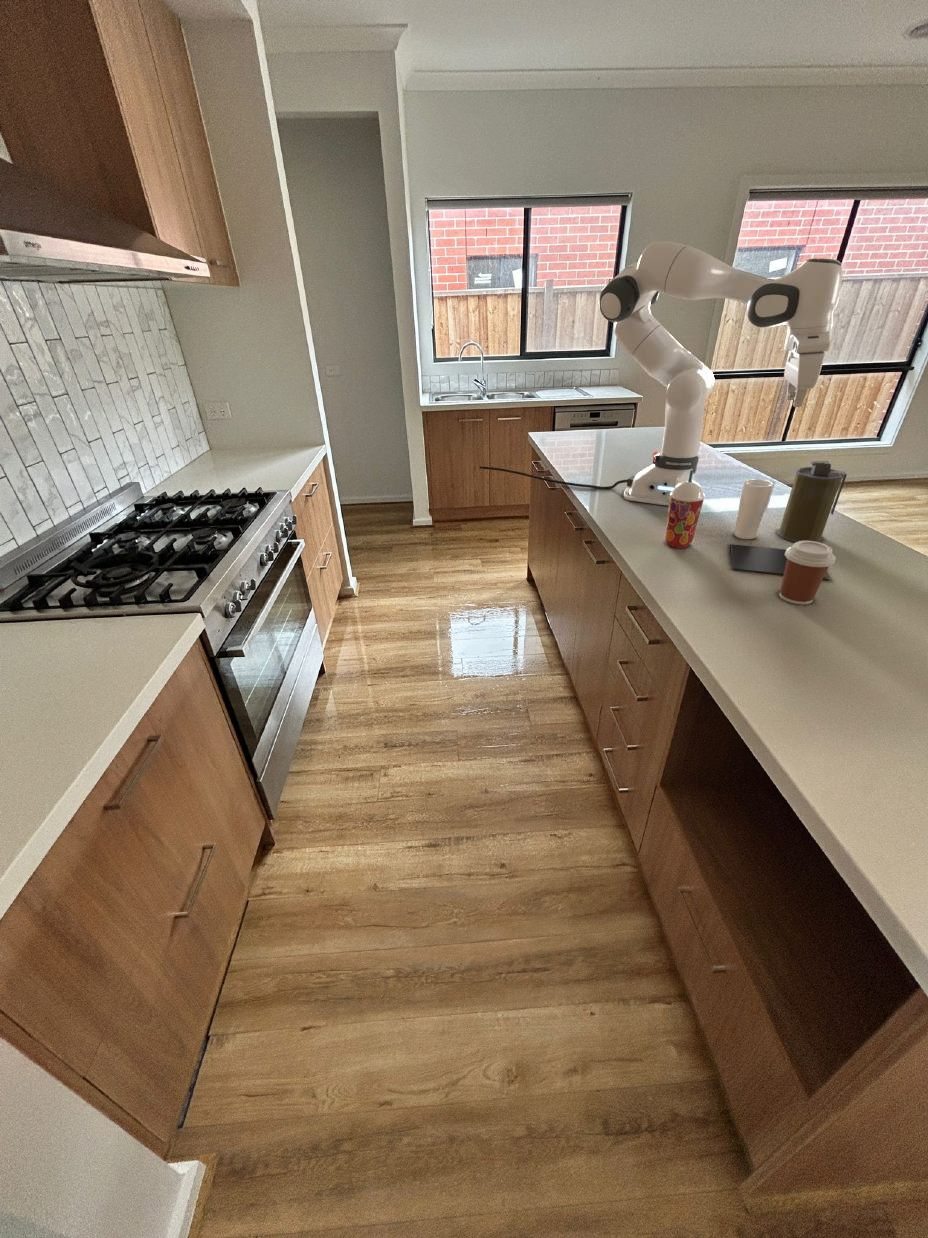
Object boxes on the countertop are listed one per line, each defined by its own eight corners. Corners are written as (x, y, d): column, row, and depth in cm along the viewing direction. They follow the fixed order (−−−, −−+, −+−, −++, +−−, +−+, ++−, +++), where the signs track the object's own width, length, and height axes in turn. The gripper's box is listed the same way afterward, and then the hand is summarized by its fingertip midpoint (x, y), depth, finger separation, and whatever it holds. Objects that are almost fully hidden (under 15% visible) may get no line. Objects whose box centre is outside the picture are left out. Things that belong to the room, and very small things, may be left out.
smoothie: (693, 539, 141) (709, 466, 130) (694, 551, 134) (710, 476, 124) (661, 536, 143) (674, 465, 133) (661, 548, 137) (674, 474, 126)
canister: (780, 541, 137) (803, 466, 127) (775, 527, 145) (796, 455, 135) (827, 545, 134) (854, 469, 123) (819, 530, 142) (844, 457, 131)
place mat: (733, 569, 125) (733, 568, 124) (729, 545, 136) (730, 544, 136) (828, 580, 118) (828, 578, 118) (816, 553, 130) (816, 552, 130)
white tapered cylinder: (726, 532, 144) (739, 479, 136) (749, 530, 144) (763, 478, 136) (739, 542, 138) (753, 487, 130) (763, 540, 138) (779, 485, 130)
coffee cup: (764, 587, 117) (779, 538, 110) (805, 586, 116) (823, 537, 110) (784, 608, 109) (801, 556, 103) (828, 607, 108) (848, 555, 102)
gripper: (784, 338, 130) (773, 396, 137) (799, 345, 114) (786, 411, 121) (813, 335, 128) (800, 395, 135) (832, 343, 112) (817, 410, 119)
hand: (793, 402), depth 128 cm, fingers open, 8 cm apart
